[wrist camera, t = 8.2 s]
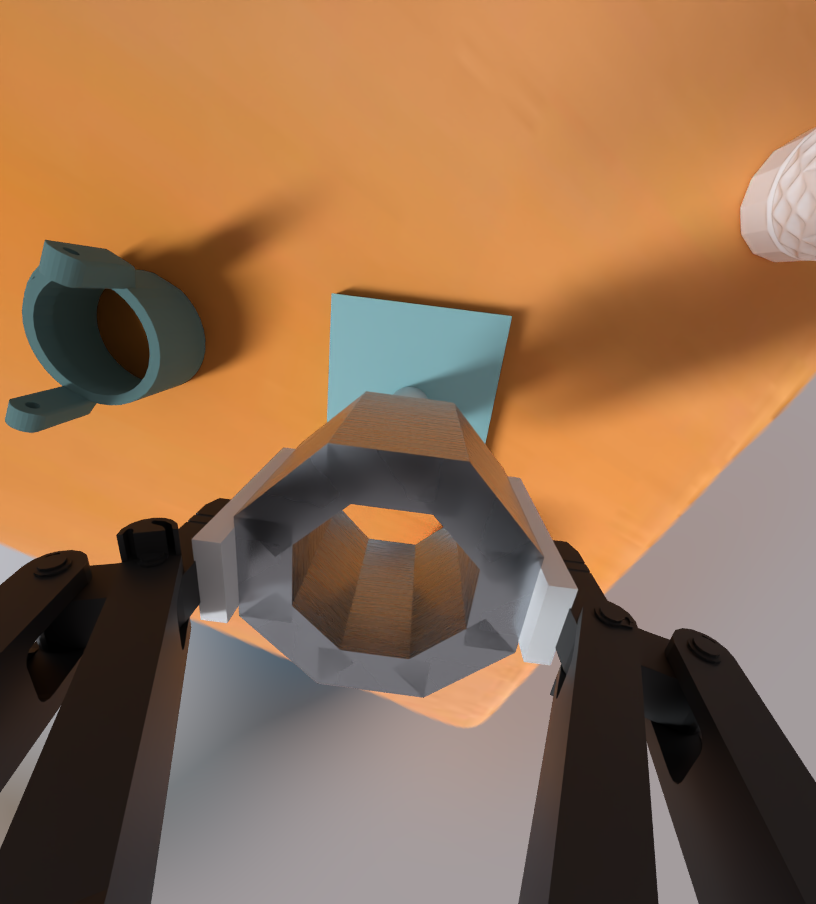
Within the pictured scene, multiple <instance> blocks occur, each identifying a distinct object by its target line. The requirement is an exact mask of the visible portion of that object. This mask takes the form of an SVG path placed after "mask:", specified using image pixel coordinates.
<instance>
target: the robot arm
mask: <svg viewBox="0 0 816 904" xmlns="http://www.w3.org/2000/svg"><path fill="white" fill-rule="evenodd" d="M295 450H296V449H290V448H282V449H281V450H280V451H279V452H278V453H277V454H276V455H275V456H274V457H273V458H272V459H271V460H270V461H269V462H268V463H267V464H266V465H265V466H264V467H263V468H262V469H261V470H260V471H259V472H258V473H257V474H256V475H255V476H254V477H253V478H252V479H251V480H250V481H249V482H248V483H247V484H246V485H245V486H244V487H243V488H242V489H241V490H240V491H239V492H238V493H237V494H236V495H235V496H234V497H233V498H232V499H231V500H230V499H223V498H219V499H217V500H215V501H212V502H210V503H208V504H206V505H205V506H204V507H203V508H201V509H200V510H199V511H198V512H197V513H196V515H194V516H193V517H192V518H190V519H189V520H188V522H186V523H185V524H184V525H183V526H182V527H180V528H179V529H178V525H177V523H176V522H175V521H173V520H171V519H167V518H150V519H144V520H140V521H137V522H134V523H131V524H129V525H128V526H126V527H124V528H123V529H121V530H120V532H119V533H118V534H117V535H116V536H117V540H118V545H119V550H120V555H121V560H122V563H117V564H105V565H93V566H90V565H89V561H88V557H87V555H86V554H85V553H83V552H81V551H74V550H67V551H58V552H53V553H49V554H46V555H43V556H41V557H39V558H36V559H34V560H32V561H30V562H29V563H27V564H26V565H24V566H23V567H21V568H20V569H19V570H18V571H16V572H15V573H14V574H13V575H12V576H11V577H9V578H8V579H7V580H6V581H5V582H3V583H2V584H1V585H0V792H1V791H2V789H3V788H4V786H5V785H6V783H7V782H8V781H9V779H10V778H11V776H12V775H13V773H14V772H15V771H16V769H17V768H18V766H19V765H20V763H21V762H22V760H23V759H24V758H25V756H26V754H27V753H28V752H29V750H30V749H31V747H32V746H33V745H34V743H35V742H36V740H37V739H38V738H39V736H40V735H41V733H42V732H43V730H44V729H45V728H46V726H47V725H48V723H49V722H50V720H51V719H52V718H53V716H54V715H55V713H56V712H57V710H58V709H59V707H60V706H61V707H60V710H59V712H58V714H57V717H56V719H55V721H54V723H53V726H52V728H51V730H50V733H49V735H48V738H47V740H46V742H45V745H44V747H43V749H42V752H41V754H40V756H39V759H38V761H37V763H36V766H35V768H34V771H33V773H32V775H31V778H30V780H29V782H28V785H27V787H26V789H25V792H24V794H23V797H22V799H21V801H20V804H19V806H18V808H17V811H16V813H15V815H14V818H13V820H12V823H11V825H10V827H9V829H8V832H7V834H6V837H5V839H4V841H3V844H2V846H1V848H0V904H151V899H152V892H153V886H154V879H155V872H156V865H157V858H158V851H159V844H160V837H161V830H162V824H163V817H164V810H165V803H166V796H167V790H168V782H169V776H170V769H171V762H172V755H173V749H174V742H175V735H176V728H177V721H178V714H179V708H180V701H181V694H182V687H183V680H184V673H185V666H186V659H187V653H188V646H189V639H190V632H191V623H190V616H191V614H192V613H193V612H194V610H195V609H196V608H197V606H198V605H199V607H200V616H201V620H207V621H215V622H223V623H228V621H229V620H230V618H231V617H232V615H233V613H234V612H235V610H236V609H237V607H238V605H239V592H238V576H237V559H236V542H235V527H234V517H233V516H234V515H235V514H236V513H237V512H238V511H239V510H240V509H241V508H242V507H243V506H244V504H245V503H246V502H247V501H248V500H249V499H250V498H251V497H252V496H253V495H254V494H255V493H256V492H257V490H258V489H259V488H260V487H261V486H262V485H263V484H264V483H265V482H266V481H267V480H268V479H269V478H270V476H271V475H272V474H273V473H274V472H275V471H276V470H277V469H278V468H279V467H280V466H281V465H282V464H283V462H284V461H285V460H286V459H287V458H288V457H289V456H290V455H291V454H292V453H293V452H294V451H295ZM507 477H508V476H507ZM508 479H509V481H510V484H511V486H512V488H513V490H514V492H515V494H516V497H517V499H518V501H519V503H520V505H521V508H522V510H523V512H524V514H525V516H526V518H527V521H528V523H529V525H530V527H531V529H532V531H533V534H534V536H535V538H536V540H537V542H538V544H539V547H540V549H541V551H542V553H543V555H544V560H543V563H542V567H541V568H540V571H539V575H538V578H537V581H536V584H535V588H534V591H533V594H532V598H531V601H530V604H529V608H528V611H527V614H526V617H525V621H524V624H523V627H522V631H521V634H520V637H519V645H520V649H521V653H522V657H523V660H524V662H529V663H537V664H544V665H551V663H552V660H553V657H554V654H555V652H556V651H557V653H558V656H559V659H560V662H561V667H560V669H559V671H558V674H557V677H556V679H555V682H554V685H553V687H552V690H551V693H550V695H552V696H553V702H552V708H551V714H550V720H549V726H548V732H547V738H546V744H545V749H544V756H543V761H542V768H541V773H540V780H539V785H538V791H537V798H536V803H535V809H534V815H533V821H532V827H531V832H530V838H529V844H528V850H527V856H526V862H525V868H524V874H523V880H522V886H521V891H520V897H519V903H518V904H658V892H657V878H656V864H655V851H654V838H653V824H652V810H651V796H650V783H649V770H648V757H647V756H648V755H647V744H648V747H649V751H650V754H651V757H652V760H653V763H654V766H655V769H656V772H657V775H658V778H659V782H660V785H661V788H662V791H663V794H664V797H665V800H666V803H667V806H668V809H669V813H670V816H671V819H672V822H673V825H674V828H675V831H676V834H677V837H678V840H679V843H680V847H681V850H682V853H683V856H684V859H685V862H686V865H687V869H688V872H689V875H690V878H691V881H692V884H693V887H694V890H695V893H696V896H697V900H698V903H699V904H816V782H815V780H814V779H813V777H812V776H811V774H810V773H809V771H808V770H807V768H806V767H805V765H804V764H803V762H802V761H801V759H800V758H799V756H798V754H797V753H796V751H795V750H794V748H793V747H792V745H791V744H790V742H789V741H788V739H787V738H786V736H785V735H784V733H783V732H782V730H781V729H780V727H779V725H778V724H777V722H776V721H775V719H774V718H773V716H772V715H771V713H770V712H769V710H768V709H767V707H766V706H765V704H764V702H763V701H762V699H761V698H760V696H759V695H758V694H757V692H756V691H755V689H754V687H753V686H752V684H751V683H750V681H749V680H748V678H747V676H746V675H745V673H744V672H743V671H742V669H741V667H740V666H739V665H738V663H737V661H736V660H735V658H734V657H733V656H732V655H731V654H730V652H729V651H728V650H727V649H726V648H725V647H723V646H722V645H721V644H719V643H718V642H717V641H716V640H714V639H712V638H711V637H709V636H707V635H705V634H703V633H700V632H697V631H695V630H692V629H684V628H682V629H678V630H675V632H674V633H673V636H672V637H671V639H670V640H669V639H666V638H663V637H661V636H658V635H655V634H652V633H649V632H647V631H644V630H642V629H639V628H638V627H637V625H636V621H635V620H634V619H633V618H632V617H631V615H630V614H629V613H628V612H626V611H625V610H624V609H622V608H621V607H620V606H617V605H615V604H614V603H611V602H609V601H607V599H606V597H605V596H604V594H603V592H602V591H601V589H600V587H599V586H598V584H597V582H596V581H595V579H594V577H593V576H592V574H591V573H590V571H589V569H588V567H587V566H586V565H585V564H584V563H585V562H584V561H583V559H582V557H581V556H580V554H579V552H578V551H577V550H575V549H574V548H573V547H572V546H571V545H570V544H569V543H567V542H563V541H555V540H552V538H551V536H550V534H549V532H548V531H547V529H546V527H545V525H544V523H543V521H542V519H541V517H540V515H539V513H538V511H537V509H536V507H535V506H534V504H533V502H532V500H531V498H530V496H529V494H528V492H527V490H526V488H525V486H524V484H523V482H522V480H521V479H520V478H516V477H508ZM36 640H37V641H36ZM35 641H36V642H35ZM34 642H35V643H34ZM646 741H647V742H646Z"/></svg>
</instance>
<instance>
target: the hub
mask: <svg viewBox="0 0 816 904" xmlns="http://www.w3.org/2000/svg"><path fill="white" fill-rule="evenodd" d="M350 504H356V505H364V506H371V507H379V508H386V509H394V510H402V511H409V512H417V513H425V514H432V515H434V516H435V517H436V519H437V520H438V521H439V522H440V523H441V524H442V526H443V528H441V529H440V530H438V531H437V532H435V533H433V534H432V535H430V536H429V537H427V538H426V539H424V540H422V541H421V542H419V543H418V544H416V545H413V544H405V543H397V542H390V541H382V540H375V539H369V538H368V537H367V536H366V535H365V534H364V533H363V532H362V531H361V530H360V529H359V528H358V527H357V526H356V524H355V523H354V522H353V521H352V520H351V519H350V518H349V517H348V516H347V515H346V514H345V513H344V512H343V511H342V510H343V509H344V508H346V507H347V506H348V505H350ZM233 517H234V527H235V542H236V559H237V576H238V592H239V616H240V617H241V618H242V619H244V620H245V621H246V622H247V623H248V624H249V625H251V626H252V627H253V628H254V629H255V630H256V631H257V632H259V633H260V634H261V635H262V636H263V637H264V638H266V639H267V640H268V641H269V642H270V643H271V644H272V645H274V646H275V647H276V648H277V649H278V650H279V651H281V652H282V653H283V654H284V655H285V656H286V657H288V658H289V659H290V660H291V661H292V662H293V663H294V664H296V665H297V666H298V667H299V668H300V669H301V670H303V671H304V672H305V673H306V674H307V675H308V676H309V677H311V678H312V679H313V680H314V681H315V682H317V683H318V684H326V685H334V686H341V687H348V688H356V689H363V690H371V691H378V692H386V693H393V694H401V695H408V696H416V697H423V698H424V697H425V696H428V695H430V694H432V693H434V692H436V691H438V690H440V689H442V688H444V687H446V686H448V685H450V684H452V683H454V682H456V681H458V680H460V679H462V678H464V677H466V676H468V675H470V674H472V673H474V672H476V671H478V670H480V669H482V668H485V667H487V666H489V665H491V664H493V663H495V662H497V661H499V660H501V659H503V658H505V657H507V656H509V655H511V654H513V653H515V652H516V648H517V645H518V642H519V637H520V634H521V631H522V627H523V624H524V621H525V617H526V614H527V611H528V608H529V604H530V601H531V598H532V594H533V591H534V588H535V584H536V581H537V578H538V575H539V571H540V568H541V567H542V563H543V560H544V555H543V553H542V551H541V549H540V547H539V544H538V542H537V540H536V538H535V536H534V534H533V531H532V529H531V527H530V525H529V523H528V521H527V518H526V516H525V514H524V512H523V510H522V508H521V505H520V503H519V501H518V499H517V497H516V494H515V492H514V490H513V488H512V486H511V484H510V481H509V479H508V477H507V475H506V473H505V471H504V468H503V467H502V466H501V464H500V463H499V462H498V460H497V459H496V458H495V456H494V455H493V454H492V452H491V451H490V450H489V448H488V447H487V446H486V444H485V443H484V442H483V440H482V439H481V438H480V437H479V435H478V434H477V433H476V431H475V430H474V429H473V427H472V426H471V425H470V423H469V422H468V421H467V419H466V418H465V417H464V415H463V414H462V413H461V411H460V410H459V409H458V407H457V406H456V405H455V403H453V402H445V401H437V400H430V399H422V398H414V397H406V396H399V395H391V394H383V393H376V392H368V391H366V392H365V393H363V394H362V395H361V396H360V397H358V398H357V399H356V400H355V401H353V402H352V403H351V404H350V405H348V406H347V407H346V408H345V409H343V410H342V411H341V412H340V413H338V414H337V415H336V416H335V417H333V418H332V419H331V420H330V421H328V422H327V423H326V424H325V425H323V426H322V427H321V428H320V429H318V430H317V431H316V432H314V433H313V434H312V435H311V436H309V437H308V438H307V439H306V440H304V441H303V442H302V443H301V444H300V445H299V446H298V447H297V448H296V450H295V451H294V452H293V453H292V454H291V455H290V456H289V457H288V458H287V459H286V460H285V461H284V462H283V464H282V465H281V466H280V467H279V468H278V469H277V470H276V471H275V472H274V473H273V474H272V475H271V476H270V478H269V479H268V480H267V481H266V482H265V483H264V484H263V485H262V486H261V487H260V488H259V489H258V490H257V492H256V493H255V494H254V495H253V496H252V497H251V498H250V499H249V500H248V501H247V502H246V503H245V504H244V506H243V507H242V508H241V509H240V510H239V511H238V512H237V513H236V514H235V515H234V516H233Z"/></svg>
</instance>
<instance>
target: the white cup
mask: <svg viewBox="0 0 816 904" xmlns="http://www.w3.org/2000/svg"><path fill="white" fill-rule="evenodd" d="M740 221H741V235H742V237H743V239H744V240H745V242H746V243H747V245H748V246H749V248H750V250H751V251H752V253H753V254H755V255H758V256H760V257H763V258H765V259H767V260H770V261H772V262H790V261H816V127H814V128H812V129H810V130H808V131H806V132H804V133H802V134H801V135H799V136H798V137H796V138H794V139H793V140H791V141H790V142H788V143H786V144H785V145H783V146H782V147H780V148H778V149H777V150H775V151H774V152H773V153H772V154H771V155H770V156H769V158H768V159H767V160H766V161H765V163H764V164H763V165H762V166H761V167H760V169H759V170H758V171H757V172H756V174H755V175H754V176H753V177H752V179H751V181H750V184H749V186H748V189H747V191H746V194H745V197H744V199H743V202H742V205H741V207H740Z"/></svg>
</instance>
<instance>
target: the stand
mask: <svg viewBox="0 0 816 904" xmlns="http://www.w3.org/2000/svg"><path fill="white" fill-rule="evenodd" d="M511 319H512V316H508V315H500V314H492V313H485V312H477V311H469V310H461V309H453V308H445V307H437V306H429V305H421V304H414V303H406V302H398V301H390V300H382V299H374V298H366V297H358V296H351V295H343V294H333V293H332V299H331V327H330V355H329V383H328V411H327V422H328V421H330V420H331V419H332V418H333V417H335V416H336V415H337V414H338V413H340V412H341V411H342V410H343V409H345V408H346V407H347V406H348V405H350V404H351V403H352V402H353V401H355V400H356V399H357V398H358V397H360V396H361V395H362V394H363V393H365V392H366V391H368V392H376V393H383V394H391V395H399V396H406V397H414V398H422V399H430V400H437V401H445V402H453V403H455V405H456V406H457V407H458V409H459V410H460V411H461V413H462V414H463V415H464V417H465V418H466V419H467V421H468V422H469V423H470V425H471V426H472V427H473V429H474V430H475V431H476V433H477V434H478V435H479V437H480V438H481V439H482V440H483V442H484V443H486V438H487V433H488V428H489V424H490V419H491V414H492V409H493V405H494V400H495V395H496V390H497V386H498V381H499V376H500V371H501V367H502V362H503V357H504V352H505V348H506V343H507V338H508V333H509V329H510V324H511Z"/></svg>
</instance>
